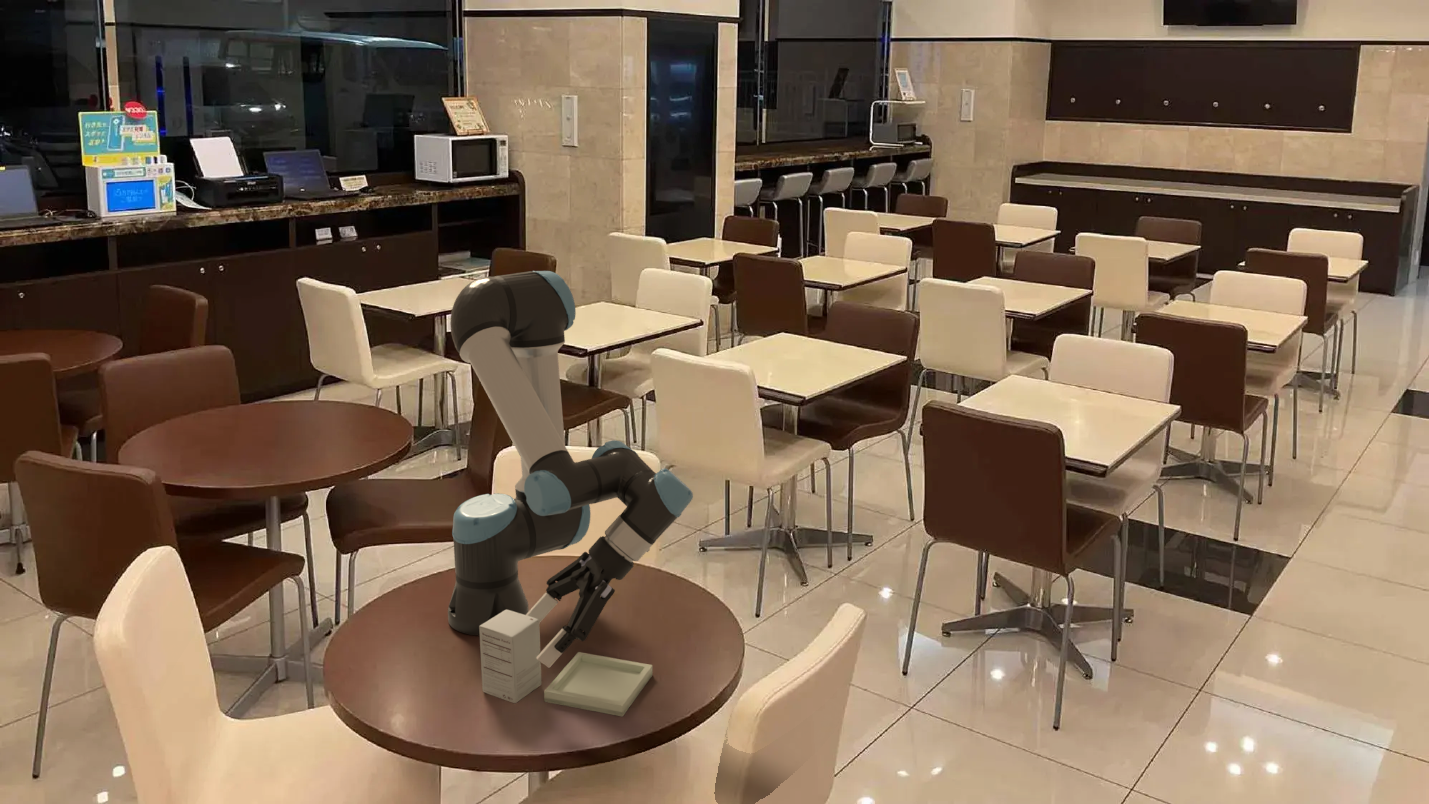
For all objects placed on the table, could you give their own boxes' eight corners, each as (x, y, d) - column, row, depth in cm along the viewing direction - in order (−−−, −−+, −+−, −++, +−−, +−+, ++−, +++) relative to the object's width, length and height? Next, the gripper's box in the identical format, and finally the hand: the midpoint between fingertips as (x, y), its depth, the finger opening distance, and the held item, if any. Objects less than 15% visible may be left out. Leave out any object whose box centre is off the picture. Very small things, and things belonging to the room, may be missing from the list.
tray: (544, 701, 197) (544, 690, 196) (578, 661, 209) (578, 651, 209) (622, 716, 193) (622, 705, 192) (652, 675, 205) (652, 664, 205)
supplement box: (509, 673, 205) (506, 607, 202) (542, 685, 202) (541, 618, 198) (480, 692, 199) (477, 624, 195) (515, 704, 196) (512, 636, 192)
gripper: (656, 592, 188) (567, 691, 188) (615, 533, 211) (536, 622, 210) (623, 566, 185) (532, 667, 185) (585, 509, 208) (505, 599, 207)
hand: (534, 643), depth 197 cm, fingers open, 13 cm apart
